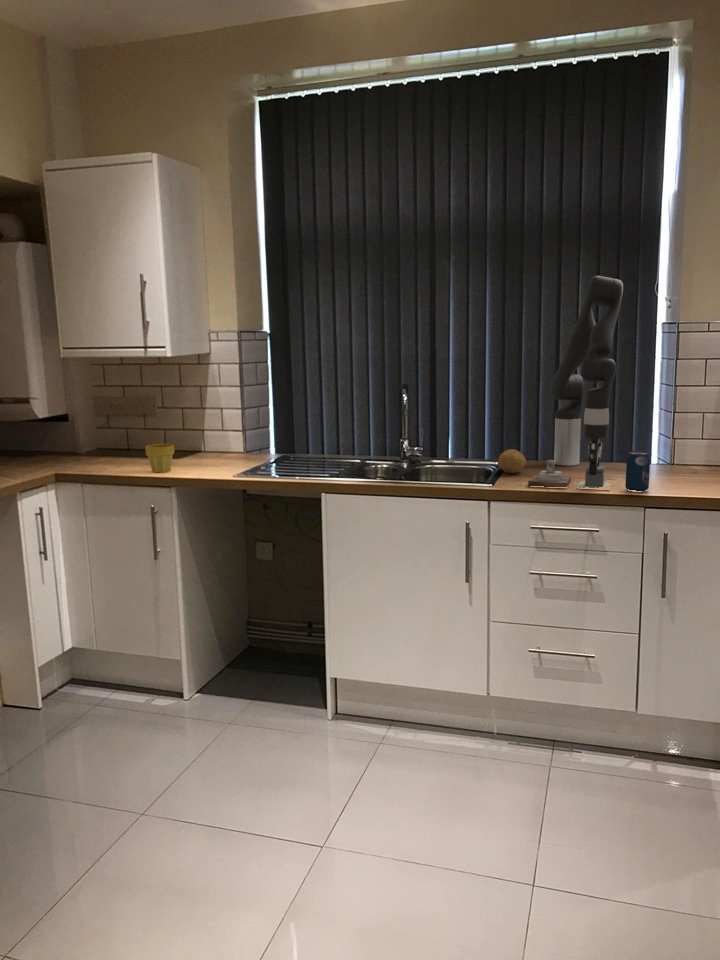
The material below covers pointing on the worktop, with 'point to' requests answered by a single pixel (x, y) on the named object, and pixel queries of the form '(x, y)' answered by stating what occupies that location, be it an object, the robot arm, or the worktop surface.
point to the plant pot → (160, 456)
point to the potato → (511, 461)
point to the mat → (582, 484)
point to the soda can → (637, 471)
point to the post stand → (550, 477)
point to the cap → (595, 477)
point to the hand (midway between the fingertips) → (594, 472)
